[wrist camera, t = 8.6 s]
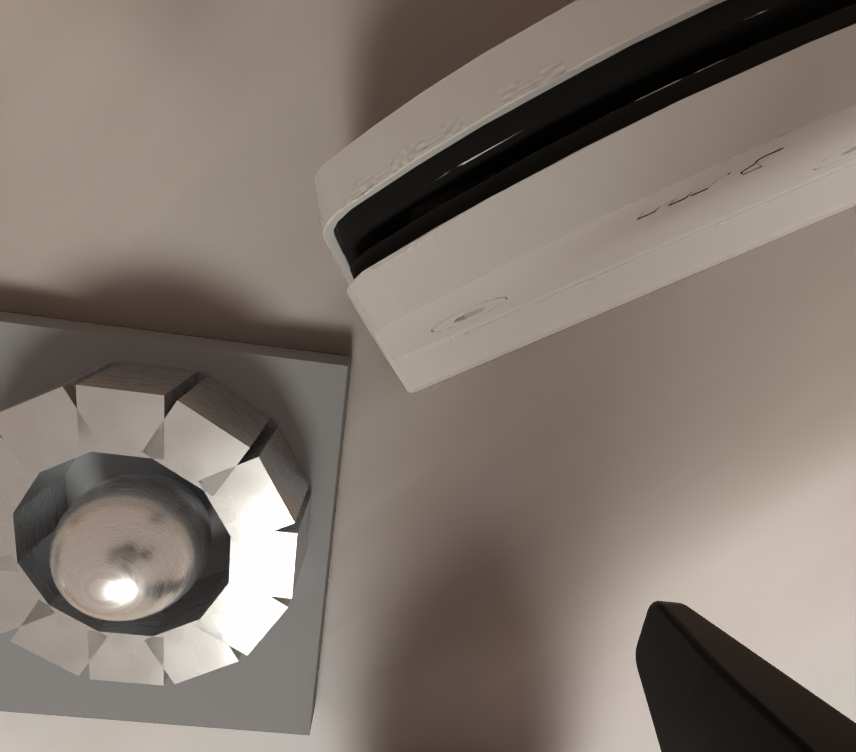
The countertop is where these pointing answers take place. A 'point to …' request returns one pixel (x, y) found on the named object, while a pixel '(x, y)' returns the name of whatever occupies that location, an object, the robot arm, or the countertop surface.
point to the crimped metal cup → (186, 456)
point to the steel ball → (130, 546)
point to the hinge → (589, 170)
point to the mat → (320, 461)
